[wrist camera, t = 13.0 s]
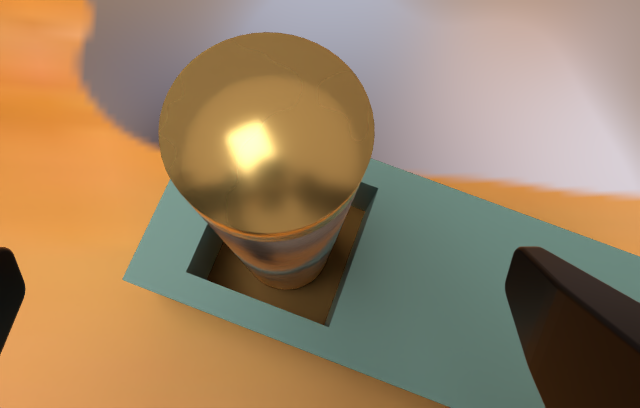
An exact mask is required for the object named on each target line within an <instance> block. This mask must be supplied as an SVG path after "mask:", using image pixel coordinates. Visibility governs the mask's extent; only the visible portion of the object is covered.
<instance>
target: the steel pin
mask: <svg viewBox="0 0 640 408" xmlns="http://www.w3.org/2000/svg"><path fill="white" fill-rule="evenodd" d="M373 144H374V119H373V112H372V108H371V105H370V102H369V99H368V96H367V94H366V92H365V90H364V87H363V86H362V84H361V83H360V81H359V79H358V78H357V76H356V75H355V74H354V73H353V71H352V70H351V69H350V68H349V67H348V66H347V65H346V64H345V63H344V62H343V61H342V60H341V59H340V58H339V57H338V56H336V55H334V54H333V53H332V52H331V51H329V50H328V49H326V48H324V47H322V46H320V45H319V44H317V43H315V42H312V41H310V40H307V39H305V38H301V37H298V36H294V35H289V34H282V33H269V32H264V33H251V34H246V35H241V36H237V37H234V38H231V39H228V40H225V41H223V42H220V43H218V44H216V45H214V46H212V47H211V48H209V49H207V50H206V51H204V52H202V53H201V54H200V55H198V56H197V57H196V58H195V59H193V60H192V61H191V62H190V63H189V64H188V65H187V66H186V67H185V68H184V69H183V70H182V72H181V73H180V74H179V75H178V77H177V78H176V79H175V81H174V83H173V85H172V86H171V88H170V90H169V91H168V93H167V96H166V99H165V101H164V103H163V107H162V111H161V115H160V121H159V146H160V151H161V157H162V160H163V163H164V166H165V169H166V171H167V173H168V175H169V177H170V179H171V181H172V182H173V184H174V185H175V187H176V188H177V189H178V191H179V192H180V194H181V195H182V196H183V197H184V198H185V199H186V200H187V201H188V202H189V204H190V205H191V206H192V207H193V208H194V209H195V210H196V211H197V212H198V213H199V215H200V216H201V217H202V218H203V219H204V220H205V221H206V222H207V223H208V225H209V226H210V227H211V228H212V229H213V230H214V231H215V232H216V233H217V235H218V236H219V237H220V238H221V239H222V240H223V241H224V242H225V243H226V244H227V246H228V247H229V248H230V249H231V250H232V251H233V252H234V253H235V254H236V256H237V257H238V258H239V259H240V260H241V261H242V262H243V263H244V264H245V265H246V267H247V268H248V269H249V270H250V271H251V272H252V273H253V274H254V275H255V276H256V278H257V279H259V280H260V281H261V282H263V283H264V284H266V285H268V286H270V287H273V288H276V289H282V290H290V289H296V288H300V287H302V286H305V285H307V284H308V283H310V282H311V281H313V280H314V279H315V278H316V277H317V276H318V275H319V274H320V272H321V271H322V270H323V268H324V266H325V264H326V261H327V259H328V257H329V255H330V252H331V250H332V248H333V245H334V243H335V241H336V238H337V236H338V234H339V231H340V229H341V227H342V225H343V222H344V220H345V218H346V215H347V213H348V211H349V208H350V206H351V204H352V201H353V199H354V197H355V194H356V192H357V190H358V188H359V185H360V183H361V181H362V178H363V176H364V174H365V171H366V169H367V167H368V164H369V162H370V158H371V154H372V150H373Z"/></svg>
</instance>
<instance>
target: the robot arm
mask: <svg viewBox="0 0 640 408" xmlns="http://www.w3.org/2000/svg"><path fill="white" fill-rule="evenodd" d="M505 293H506V297H507V300H508V304H509V307H510V310H511V313H512V317H513V320H514V323H515V326H516V330H517V333H518V336H519V340H520V343H521V346H522V349H523V353H524V356H525V359H526V362H527V365H528V368H529V370H530V372H531V375H532V377H533V380H534V382H535V385H536V387H537V389H538V391H539V394H540V396H541V398H542V401H543V403H544V405H545V408H640V303H639V302H637V301H636V300H634V299H632V298H630V297H629V296H627V295H625V294H623V293H622V292H620V291H618V290H616V289H614V288H613V287H611V286H609V285H607V284H606V283H604V282H602V281H600V280H599V279H597V278H595V277H593V276H591V275H590V274H588V273H586V272H584V271H583V270H581V269H579V268H577V267H576V266H574V265H572V264H570V263H568V262H567V261H565V260H563V259H561V258H560V257H558V256H556V255H554V254H553V253H551V252H549V251H547V250H546V249H544V248H542V247H538V246H521V247H518V248H517V249H516V250H515V251H514V253H513V256H512V260H511V263H510V266H509V270H508V273H507V277H506V280H505ZM24 295H25V283H24V280H23V277H22V275H21V272H20V270H19V267H18V264H17V262H16V259H15V257H14V254H13V252H12V251H11V250H10V249H8V248H6V247H0V354H1V352H2V349H3V347H4V345H5V342H6V340H7V337H8V335H9V332H10V330H11V328H12V325H13V323H14V320H15V318H16V316H17V313H18V311H19V308H20V306H21V303H22V301H23V299H24Z"/></svg>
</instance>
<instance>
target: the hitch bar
mask: <svg viewBox="0 0 640 408" xmlns="http://www.w3.org/2000/svg"><path fill="white" fill-rule="evenodd" d="M351 206H353V207H355V208H358V209H361V210H363V211H365V213H364V216H363V218H362V221H361V224H360V227H359V230H358V232H357V235H356V238H355V241H354V244H353V246H352V249H351V252H350V255H349V257H348V260H347V263H346V266H345V269H344V271H343V274H342V277H341V280H340V282H339V285H338V288H337V291H336V294H335V296H334V299H333V302H332V305H331V308H330V310H329V313H328V316H327V319H326V321H325V324H324V325H322V324H319V323H317V322H314V321H311V320H309V319H306V318H304V317H301V316H298V315H296V314H293V313H291V312H288V311H285V310H283V309H280V308H278V307H275V306H272V305H270V304H267V303H265V302H262V301H259V300H257V299H254V298H252V297H249V296H247V295H244V294H241V293H239V292H236V291H234V290H231V289H228V288H226V287H223V286H221V285H218V284H215V283H213V282H210V281H208V280H207V278H208V276H209V273H210V271H211V269H212V266H213V264H214V262H215V259H216V257H217V255H218V253H219V250H220V248H221V246H222V243H223V240H222V239H221V238H220V237H219V236H218V235H217V233H216V232H215V231H214V230H213V229H212V228H211V227H210V226H209V225H208V223H207V222H206V221H205V220H204V219H203V218H202V217H201V216H200V215H199V213H198V212H197V211H196V210H195V209H194V208H193V207H192V206H191V205H190V204H189V202H188V201H187V200H186V199H185V198H184V197H183V196H182V195H181V194H180V192H179V191H178V189H177V188H176V187H175V185H174V184H173V182H172V181H171V179H170V181H169V183H168V185H167V187H166V189H165V191H164V193H163V195H162V198H161V200H160V202H159V204H158V206H157V208H156V210H155V212H154V214H153V216H152V218H151V221H150V223H149V225H148V227H147V229H146V231H145V233H144V235H143V237H142V239H141V241H140V243H139V246H138V248H137V250H136V252H135V254H134V256H133V258H132V260H131V262H130V264H129V266H128V268H127V271H126V273H125V275H124V277H123V279H122V280H124V281H127V282H129V283H132V284H134V285H137V286H139V287H142V288H145V289H147V290H150V291H152V292H155V293H157V294H160V295H163V296H165V297H168V298H170V299H173V300H175V301H178V302H181V303H183V304H186V305H188V306H191V307H193V308H196V309H199V310H201V311H204V312H206V313H209V314H211V315H214V316H217V317H219V318H222V319H224V320H227V321H229V322H232V323H235V324H237V325H240V326H242V327H245V328H247V329H250V330H253V331H255V332H258V333H260V334H263V335H265V336H268V337H271V338H273V339H276V340H278V341H281V342H283V343H286V344H288V345H291V346H294V347H296V348H299V349H301V350H304V351H306V352H309V353H312V354H314V355H317V356H319V357H322V358H324V359H327V360H330V361H332V362H335V363H337V364H340V365H342V366H345V367H348V368H350V369H353V370H355V371H358V372H360V373H363V374H366V375H368V376H371V377H373V378H376V379H378V380H381V381H384V382H386V383H389V384H391V385H394V386H396V387H399V388H402V389H404V390H407V391H409V392H412V393H414V394H417V395H420V396H422V397H425V398H427V399H430V400H432V401H435V402H438V403H440V404H443V405H445V406H448V407H450V408H545V405H544V403H543V401H542V398H541V396H540V394H539V391H538V389H537V387H536V385H535V382H534V380H533V377H532V375H531V372H530V370H529V368H528V365H527V362H526V359H525V356H524V353H523V349H522V346H521V343H520V340H519V336H518V333H517V330H516V326H515V323H514V320H513V317H512V313H511V310H510V307H509V304H508V300H507V297H506V293H505V280H506V277H507V273H508V270H509V266H510V263H511V260H512V256H513V253H514V251H515V250H516V249H517V248H518V247H521V246H538V247H542V248H544V249H546V250H547V251H549V252H551V253H553V254H554V255H556V256H558V257H560V258H561V259H563V260H565V261H567V262H568V263H570V264H572V265H574V266H576V267H577V268H579V269H581V270H583V271H584V272H586V273H588V274H590V275H591V276H593V277H595V278H597V279H599V280H600V281H602V282H604V283H606V284H607V285H609V286H611V287H613V288H614V289H616V290H618V291H620V292H622V293H623V294H625V295H627V296H629V297H630V298H632V299H634V300H636V301H637V302H639V303H640V257H639V256H637V255H634V254H631V253H628V252H626V251H623V250H620V249H617V248H615V247H612V246H609V245H607V244H604V243H601V242H598V241H596V240H593V239H590V238H587V237H585V236H582V235H579V234H576V233H574V232H571V231H568V230H566V229H563V228H560V227H557V226H555V225H552V224H549V223H546V222H544V221H541V220H538V219H536V218H533V217H530V216H527V215H525V214H522V213H519V212H516V211H514V210H511V209H508V208H505V207H503V206H500V205H497V204H495V203H492V202H489V201H486V200H484V199H481V198H478V197H475V196H473V195H470V194H467V193H464V192H462V191H459V190H456V189H454V188H451V187H448V186H445V185H443V184H440V183H437V182H434V181H432V180H429V179H426V178H423V177H421V176H418V175H415V174H413V173H410V172H407V171H404V170H402V169H399V168H396V167H393V166H391V165H388V164H385V163H383V162H380V161H377V160H374V159H371V158H370V162H369V164H368V167H367V169H366V171H365V174H364V176H363V178H362V181H361V183H360V185H359V188H358V190H357V192H356V194H355V197H354V199H353V201H352V204H351Z"/></svg>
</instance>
